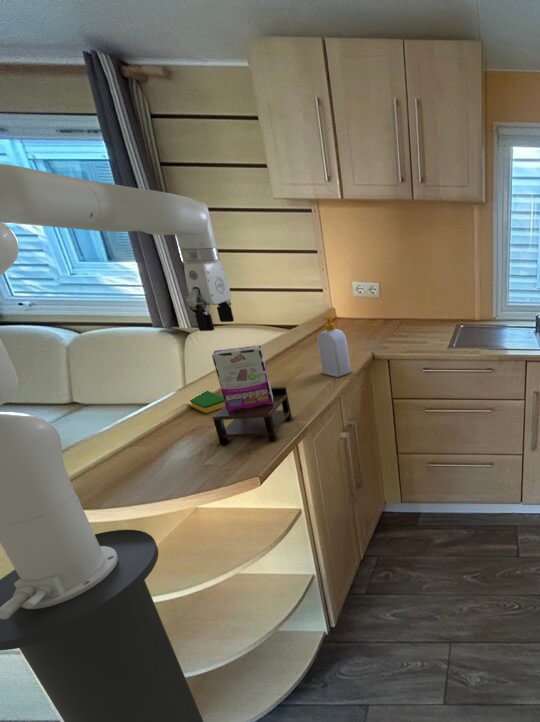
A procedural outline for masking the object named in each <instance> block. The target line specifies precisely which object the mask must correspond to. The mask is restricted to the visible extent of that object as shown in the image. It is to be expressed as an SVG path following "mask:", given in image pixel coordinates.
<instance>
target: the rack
mask: <svg viewBox="0 0 540 722" xmlns="http://www.w3.org/2000/svg"><path fill="white" fill-rule="evenodd" d="M271 390H272V394H273V404H270V405H265V406H259V407H254V408H248V409H242V410H237V411H231V412H228V411H227V409H226V406H225V407H223V408H220V409H219V411H217V412H216V413H215V414H214V415H213V416H212V420H213V424H214V427H215V431H216V435H217V437H218V438H217V439H218V442H219V445H220V446H226V445H227V444H228V443H229V442H230V440H229V439H232V438H233V439H234V438H249V437H263V436H265V437H266V436H267V437H268V442H269V443H270V442H276V441H277V439H278V438H277V434H276V433H277V431H278V430H279V429H280V428H281V426H282V425H283V424H284V422H290V421H292V419H293V415H292V411H291V406H290V401H289V396H288V391H287V387H286V386H280V387H279V386H278V387H271ZM281 405H282V406H281ZM280 406H281V407H282V409H279V410H278V408H279V407H280ZM224 420H225V421H226V420H232V421H231V422H230V423H229V424H228V425H227V426H225V422H224Z"/></svg>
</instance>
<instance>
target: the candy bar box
mask: <svg viewBox="0 0 540 722" xmlns="http://www.w3.org/2000/svg"><path fill="white" fill-rule="evenodd" d="M211 357H212V361H213V365H214V369H215V371H216V376H217V380H218V383H219V386H220V389H221V393H222V397H224V401H225V405H226V409H227V411H228V412H231V411H237V410H242V409H248V408H254V407H259V406H265V405H270V404H273V394H272V390H271V388H272V385H271V386H270V381H271V380H270V378H269V374H268V368H267V365H266V360H265V356H264V351H263V348H262V345H261V344H257V345H250V346H239V347H233V348H226V349H216V350H214V351H213V352H212V354H211ZM269 380H270V381H269Z"/></svg>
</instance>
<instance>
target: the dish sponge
mask: <svg viewBox="0 0 540 722" xmlns="http://www.w3.org/2000/svg"><path fill="white" fill-rule="evenodd" d="M205 391H206V392H204V391H203V392H204V393H202V394H201V395H199V396H197V397H195V398H194V399H192V400H190V401H191V403H192V405H191V404H188V405H187V406H189V407H191V408H193V409H195V410H198V411H200V412H202V413H205V414H209V413H212V412H214V411H217V410H221V409H222V408H224V407H225V406H226V405H225V401H224V397H223V395H222V396H221V395H220V394H217V393H214V392H212V391H210V390H205Z"/></svg>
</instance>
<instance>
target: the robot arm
mask: <svg viewBox="0 0 540 722" xmlns="http://www.w3.org/2000/svg"><path fill="white" fill-rule="evenodd" d="M210 216H211V215H210V211H209V208H208V205H207V204H206V203H204V202H203V201H199V200H195V199H194V198H191V197H188V196H186V195H185V196H184V195H179V194H175V193H170V192H165V191H159V190H154V189H153V190H152V189H145V188H138V187H133V186H126V185H122V184H121V185H120V184H116V183H115V184H113V183H107V182H100V181H93V180H88V179H84V178H78V177H74V176H68V175H64V174H58V173H53V172H49V171H48V172H47V171H43V170H38V169H33V168H29V167H26V166H25V167H24V166H19V165H13V164H6V163H0V277H2V275H3V274H4V273H6V272H7V271H8V270H9V269H10V268H11V267H12V266H13V264H15V262H16V261H17V259H18V256H19V252H20V246H19V242H18V238H17V236H16V234H15V233H14V231H13V230H12V229H11V228H10V227H9V226H8V225H12V224H13V225H28V226H39V227H50V228H61V229H74V230H82V231H83V230H84V231H93V232H94V231H95V232H112V233H113V232H114V233H115V232H116V233H127V232H143V233H145V234H149V235H154V236H175V240H176V244H177V247H178V252H179V254H180V255H179V256H180V258H181V263H182V264H183V267H184V276H185V283H186V288H187V291H188V295H187V297H186V300H185V301H186V303H187V304H188V306H189V308H190V310H191V311H192V314H193V315H194V317H195V320H196V323H197V328H198V331H200V332H212V331H214V330H215V326H214V322H213V318H212V315H211V313H209V312H210V307H211V306H216V305H217V306H216V310H217V315H218V318H219V322H221V323H232V322H234V321H235V319H234V314H233V311H232V302H231V299H232V291H231V289H230V285H229V282H228V278H227V275H226V272H225V268H224V267H223V264H222V262H221V258H220V254H219V250H218V246H217V242H216V237H215V232H214V229H213V224H212V220H211V217H210ZM16 371H17V370H16V369H15V366H14V364H13V362H12V360H11V357H10V356H9V354H8V352H7V349H6V347H5V345H4V343H3V341H2V338H0V406H1V405H4V404H6V403H7V402H9V401H10V400H12V399H13V398H14V397H15V396H16V394H17V392H18V390H19V377H18V374H17V372H16ZM85 512H86V511H85V510H84V508H83V506H82V503H81V501H80V499H79V496H78V494H77V493H76V490H75V488H74V485H73V483H72V481H71V478H70V477H69V474H68V471H67V469H66V466H65V461H64V456H63V447H62V440H61V437H60V434H59V431H58V430H57V428H56V427H55V426H54V425H53V424H52V423H50V422H49V421H47V420H46V419H44V418H42V417H39V416H37V415H33V414H28V413H22V412H14V411H13V412H11V411H0V545H1V547H2V549H3V550H4V552H5V554H6V556H7V558H8V560H9V561H10V563H11V565H12V567H13V568H14V570H16V572H17V574H18V575H19V577H20V579H19V580H18V581H16V582H15V583H14V585H15V587H16V591H15V592H14V594H13V598H11V599H10V600H9V601H7V602H6V603H5V604H4V605H3V606H1V607H0V619H7V618H9V617H10V616H11V615H12V614H13V613H15V612H16V611H17V610H18V609H19V608H20V607H21V608H25V609H39V608H45V607H49V606H53V605H56V604H59V603H62V602H65V601H67V600H70V599H72V598H74V597H76V596H78V595H80V594H82V593H84V592H86V591H87V590H89V589H91V588H92V587H94V586H95V585H97V584H98V583H99V582H101V581H102V580H103V579H104V578H105V577H107V576H108V575H109V573H110V572H111V571H112V570H113V569H114V567H115V566H116V564H117V561H118V556H117V553H116V551H115V550H114V549H113V548H111V547H106V546H100V545H99V543H98V541H97V539H96V537H95V534H96V533H94V531H93V528H92V526H91V524H90V521H89V518H88V517H87V515H86V513H85Z"/></svg>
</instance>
